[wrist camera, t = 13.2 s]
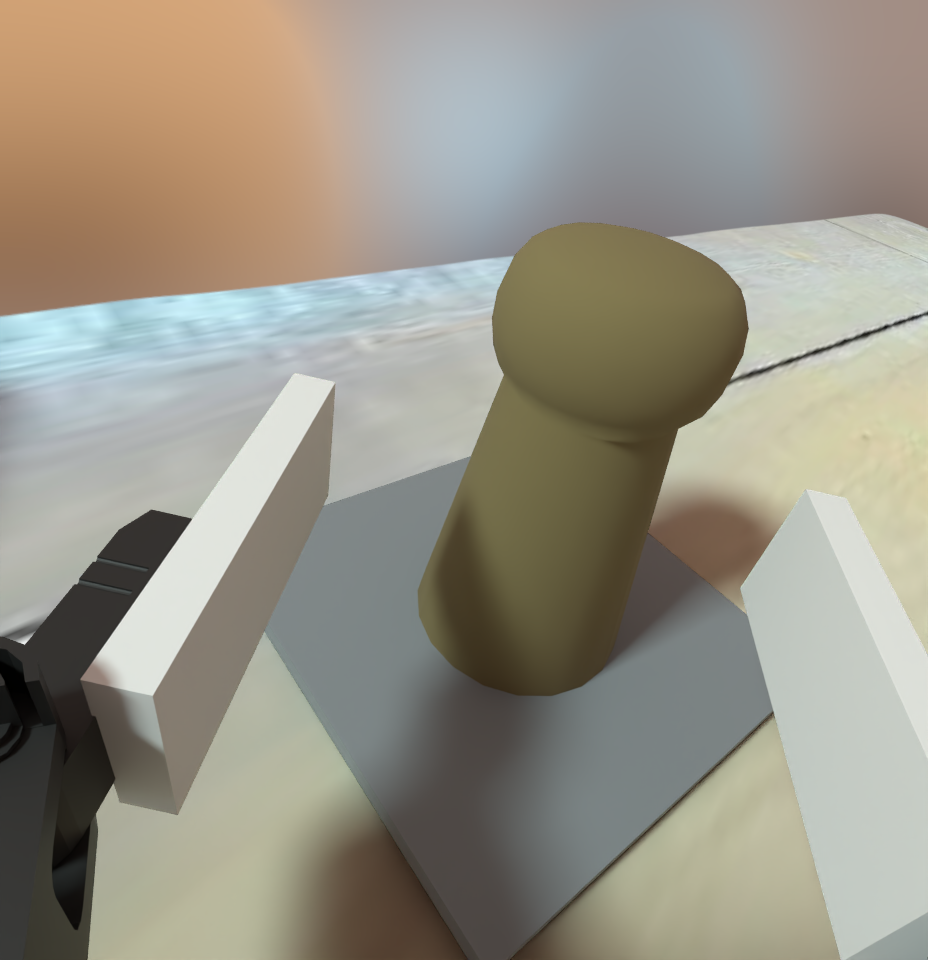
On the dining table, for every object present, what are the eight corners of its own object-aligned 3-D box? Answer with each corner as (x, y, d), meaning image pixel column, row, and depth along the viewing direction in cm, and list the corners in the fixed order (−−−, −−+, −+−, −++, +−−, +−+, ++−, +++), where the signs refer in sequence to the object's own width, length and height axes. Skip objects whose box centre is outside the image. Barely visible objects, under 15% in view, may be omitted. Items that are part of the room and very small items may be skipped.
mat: (804, 682, 20) (814, 671, 20) (483, 983, 13) (489, 975, 12) (527, 447, 27) (530, 436, 27) (217, 555, 20) (216, 541, 20)
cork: (571, 530, 23) (696, 206, 16) (650, 682, 18) (870, 325, 12) (400, 540, 21) (458, 179, 14) (443, 711, 17) (558, 308, 10)
